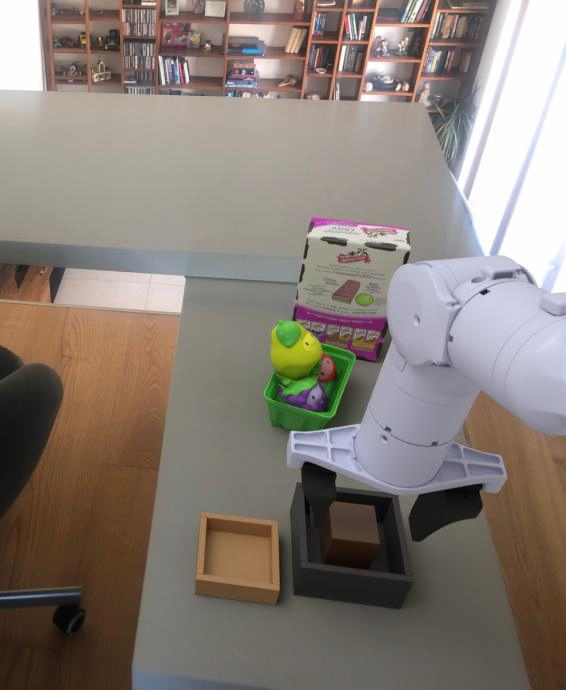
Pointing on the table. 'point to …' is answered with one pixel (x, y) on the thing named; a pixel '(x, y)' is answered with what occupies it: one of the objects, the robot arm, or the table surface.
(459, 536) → the table surface
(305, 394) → the fruit basket
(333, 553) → the walnut block
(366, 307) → the candy bar box
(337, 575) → the black basket
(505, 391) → the robot arm
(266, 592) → the kraft box
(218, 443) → the table surface
